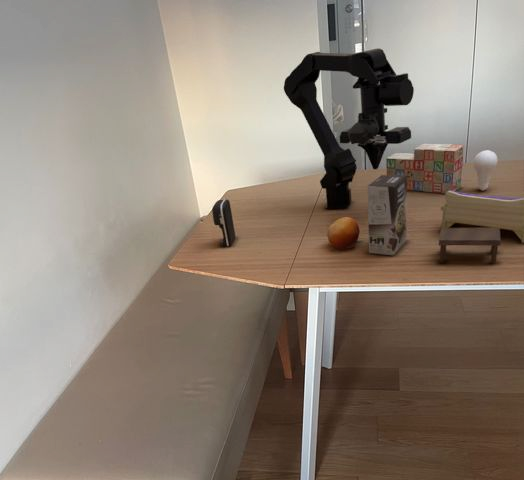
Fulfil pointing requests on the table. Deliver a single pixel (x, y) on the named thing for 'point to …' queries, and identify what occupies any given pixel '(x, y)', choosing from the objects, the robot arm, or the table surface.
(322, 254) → the table surface
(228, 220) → the battery charger
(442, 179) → the stack of blocks
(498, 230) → the coffee table
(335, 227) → the fruit
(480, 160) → the lightbulb
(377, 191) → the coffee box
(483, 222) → the toy sofa
